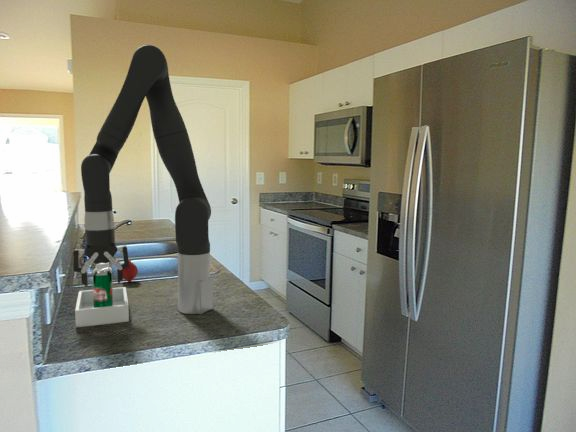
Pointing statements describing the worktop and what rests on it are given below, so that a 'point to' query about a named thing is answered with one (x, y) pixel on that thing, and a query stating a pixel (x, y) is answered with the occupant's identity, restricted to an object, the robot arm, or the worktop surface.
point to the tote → (101, 309)
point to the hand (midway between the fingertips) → (102, 283)
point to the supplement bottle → (103, 265)
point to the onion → (130, 272)
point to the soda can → (102, 288)
